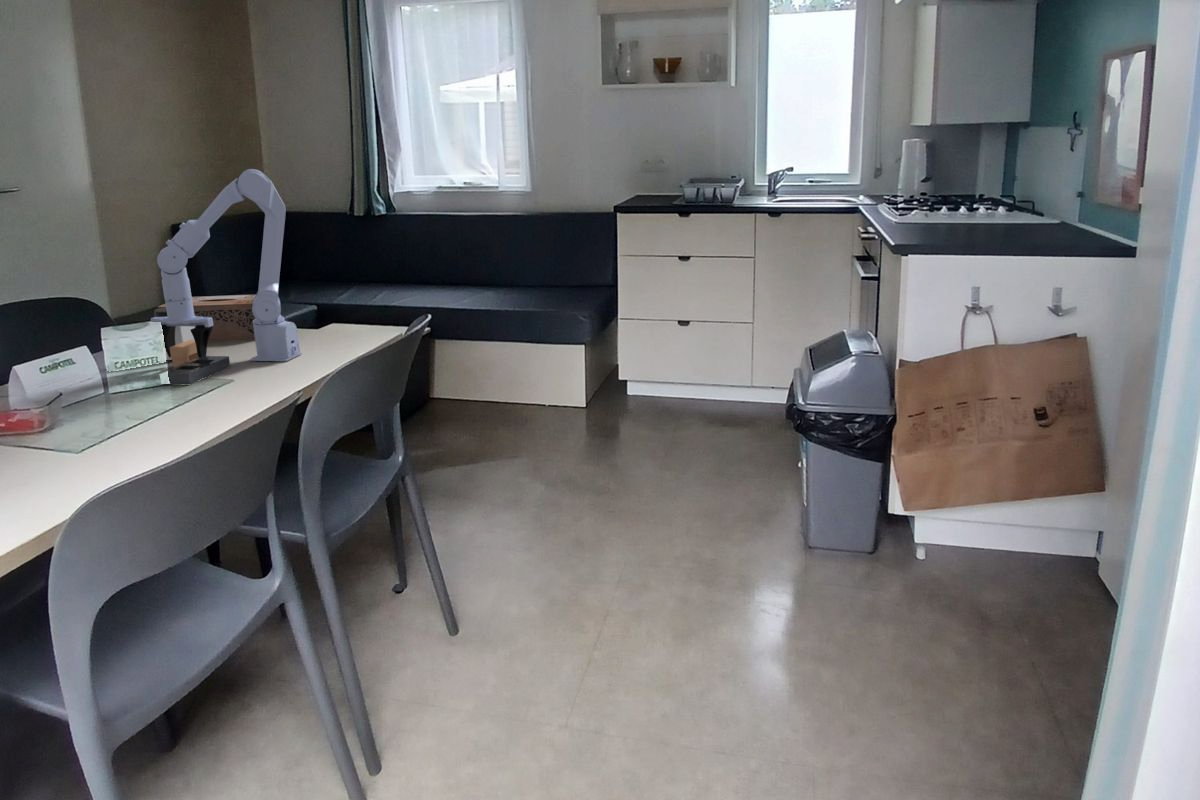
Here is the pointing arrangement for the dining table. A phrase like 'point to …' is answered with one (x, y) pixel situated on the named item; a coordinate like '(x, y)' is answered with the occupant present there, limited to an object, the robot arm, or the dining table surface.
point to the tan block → (183, 352)
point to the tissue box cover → (226, 316)
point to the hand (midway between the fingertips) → (187, 356)
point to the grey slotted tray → (197, 369)
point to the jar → (177, 328)
